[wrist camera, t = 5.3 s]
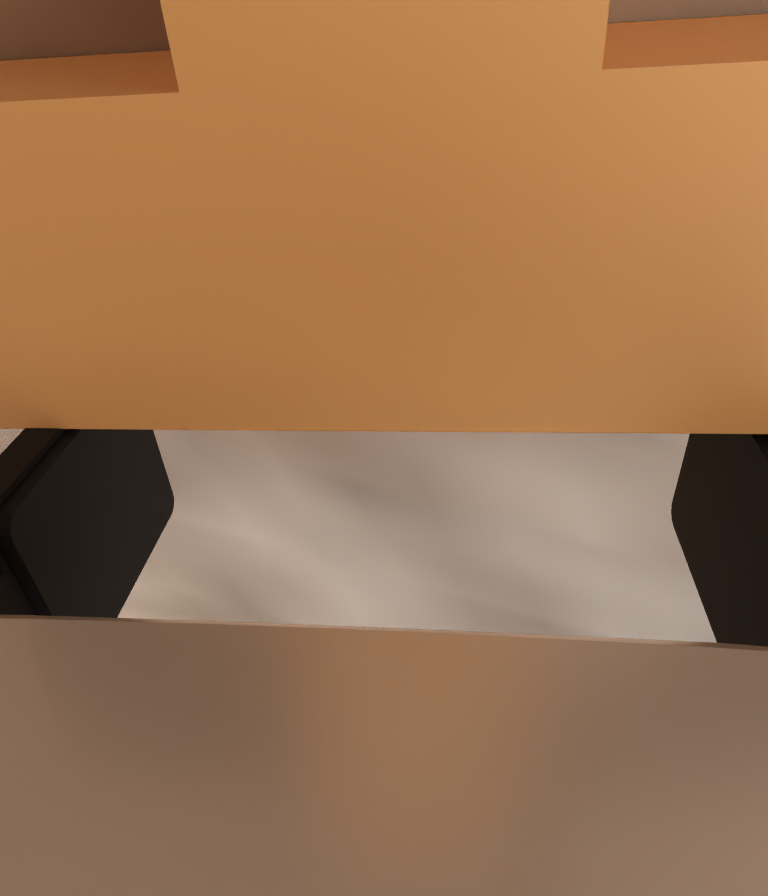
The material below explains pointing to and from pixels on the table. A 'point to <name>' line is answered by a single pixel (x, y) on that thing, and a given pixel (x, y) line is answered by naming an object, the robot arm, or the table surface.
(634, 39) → the t block
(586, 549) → the table surface
